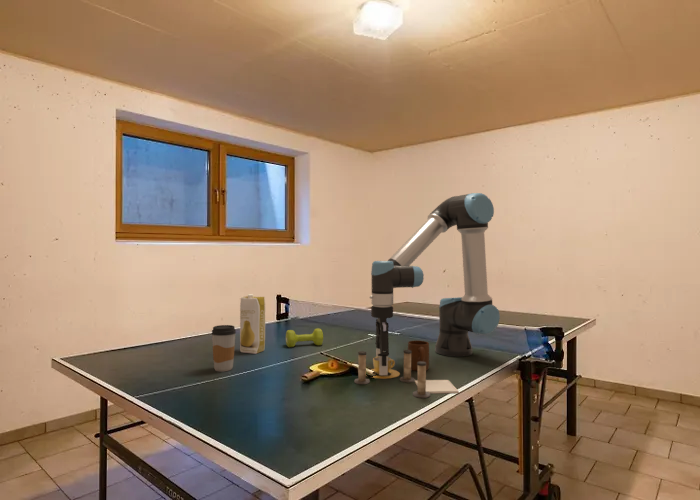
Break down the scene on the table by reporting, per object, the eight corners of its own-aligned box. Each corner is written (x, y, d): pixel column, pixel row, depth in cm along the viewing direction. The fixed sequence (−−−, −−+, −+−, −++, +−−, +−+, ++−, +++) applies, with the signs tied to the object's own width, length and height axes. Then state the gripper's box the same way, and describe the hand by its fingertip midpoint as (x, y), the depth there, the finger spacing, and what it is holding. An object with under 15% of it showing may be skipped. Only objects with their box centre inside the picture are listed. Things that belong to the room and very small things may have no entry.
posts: (417, 377, 143) (418, 349, 143) (431, 398, 123) (432, 364, 123) (353, 378, 142) (353, 349, 142) (357, 398, 122) (357, 365, 122)
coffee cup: (240, 367, 154) (240, 325, 154) (226, 373, 146) (226, 329, 146) (220, 365, 157) (221, 324, 157) (206, 371, 149) (206, 328, 149)
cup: (376, 381, 139) (376, 365, 139) (358, 372, 150) (358, 356, 150) (406, 376, 145) (406, 360, 145) (387, 368, 155) (387, 353, 155)
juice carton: (237, 352, 176) (237, 294, 176) (248, 348, 183) (249, 292, 183) (256, 354, 172) (256, 295, 172) (267, 350, 180) (267, 293, 180)
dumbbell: (320, 342, 196) (320, 327, 196) (324, 346, 189) (324, 330, 189) (284, 345, 191) (284, 329, 191) (287, 349, 184) (287, 332, 184)
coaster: (448, 381, 139) (448, 379, 139) (458, 393, 128) (458, 391, 128) (414, 382, 138) (414, 380, 138) (422, 393, 127) (422, 391, 127)
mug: (433, 375, 146) (434, 347, 146) (411, 375, 146) (411, 347, 146) (426, 365, 158) (426, 340, 158) (406, 365, 158) (406, 340, 158)
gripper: (368, 301, 158) (367, 362, 158) (374, 310, 136) (374, 380, 136) (388, 301, 158) (388, 362, 158) (398, 310, 137) (397, 380, 137)
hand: (381, 370), depth 147 cm, fingers open, 9 cm apart
